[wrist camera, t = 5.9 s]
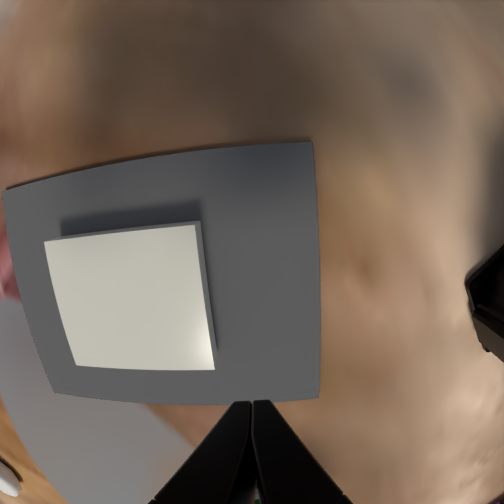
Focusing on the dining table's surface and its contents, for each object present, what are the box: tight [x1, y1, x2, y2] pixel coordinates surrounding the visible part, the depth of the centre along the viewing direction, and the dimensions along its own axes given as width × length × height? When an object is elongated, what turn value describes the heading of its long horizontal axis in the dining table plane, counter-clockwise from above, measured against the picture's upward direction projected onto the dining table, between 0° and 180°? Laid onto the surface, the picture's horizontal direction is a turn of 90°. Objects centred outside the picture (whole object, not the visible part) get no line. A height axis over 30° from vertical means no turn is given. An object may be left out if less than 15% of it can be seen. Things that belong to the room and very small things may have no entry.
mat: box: [2, 142, 321, 405], centre depth 16 cm, size 18×14×1 cm
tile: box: [44, 221, 218, 370], centre depth 15 cm, size 2×7×8 cm
